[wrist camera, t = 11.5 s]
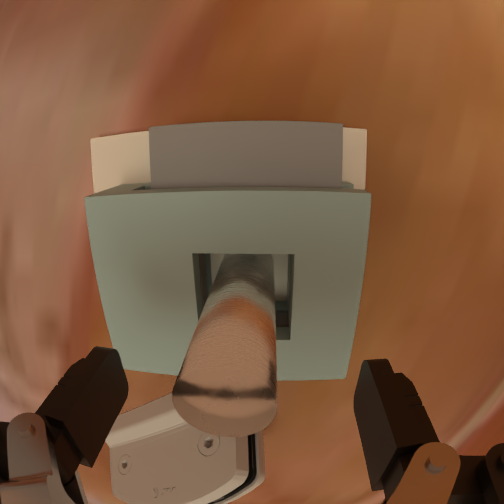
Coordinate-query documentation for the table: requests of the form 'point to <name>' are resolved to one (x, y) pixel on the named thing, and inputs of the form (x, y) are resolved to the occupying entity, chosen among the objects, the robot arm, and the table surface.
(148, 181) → the square frame block
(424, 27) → the table surface
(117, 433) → the white black beveled block
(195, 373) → the pin
